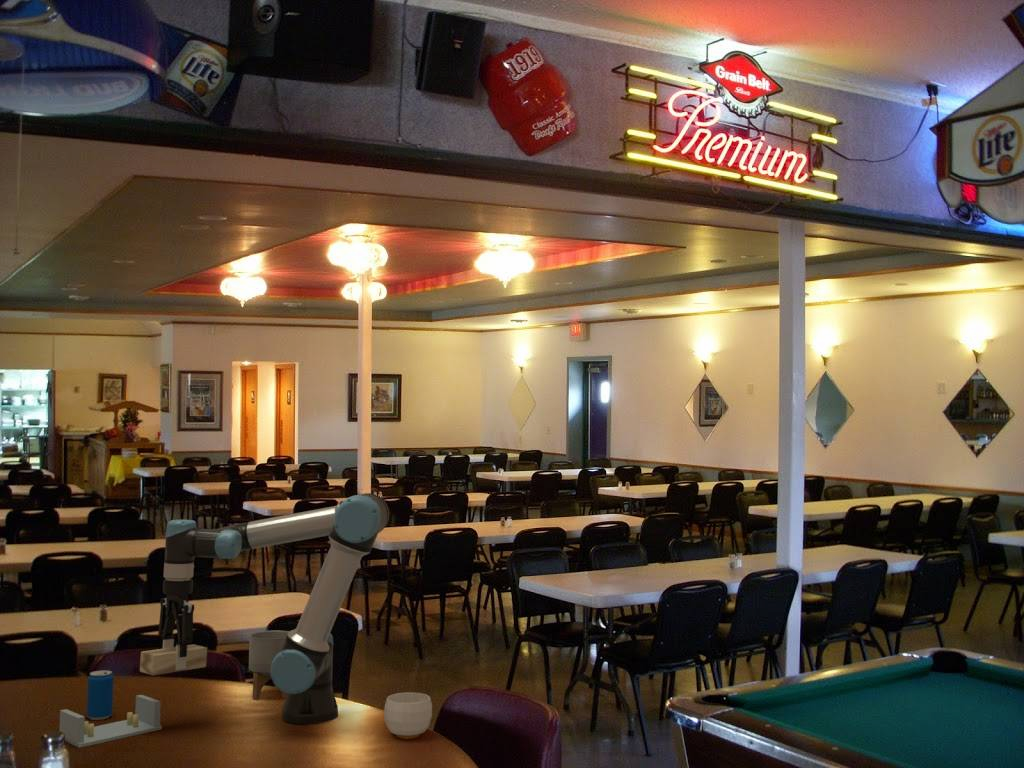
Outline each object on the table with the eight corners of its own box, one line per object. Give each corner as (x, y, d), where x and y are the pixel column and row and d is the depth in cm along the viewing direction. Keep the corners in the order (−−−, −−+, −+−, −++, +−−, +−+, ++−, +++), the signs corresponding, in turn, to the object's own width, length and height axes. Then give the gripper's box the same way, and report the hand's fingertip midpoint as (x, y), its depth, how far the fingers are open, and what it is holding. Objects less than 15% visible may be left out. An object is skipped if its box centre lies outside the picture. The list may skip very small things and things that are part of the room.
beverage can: (117, 715, 282) (118, 671, 283) (101, 721, 276) (102, 676, 276) (98, 713, 284) (99, 669, 285) (81, 719, 278) (82, 674, 279)
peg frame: (161, 729, 270) (162, 702, 270) (79, 747, 253) (80, 718, 254) (138, 720, 278) (139, 693, 278) (57, 737, 261) (58, 709, 262)
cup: (412, 745, 258) (412, 706, 259) (374, 737, 265) (374, 699, 265) (441, 733, 269) (441, 696, 269) (403, 726, 275) (404, 689, 276)
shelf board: (206, 666, 277) (207, 648, 277) (152, 675, 264) (153, 655, 265) (192, 663, 281) (194, 644, 281) (139, 671, 268) (140, 651, 268)
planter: (270, 703, 296) (271, 640, 297) (238, 696, 303) (240, 635, 304) (302, 693, 307) (303, 633, 308) (270, 687, 314) (272, 628, 315)
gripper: (210, 582, 270) (205, 671, 269) (173, 573, 283) (168, 658, 282) (184, 584, 264) (179, 675, 263) (147, 575, 277) (142, 661, 276)
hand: (173, 666), depth 273 cm, fingers closed on shelf board, 6 cm apart
